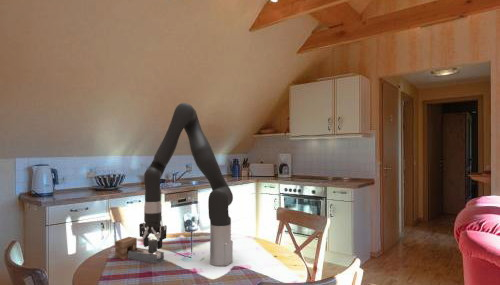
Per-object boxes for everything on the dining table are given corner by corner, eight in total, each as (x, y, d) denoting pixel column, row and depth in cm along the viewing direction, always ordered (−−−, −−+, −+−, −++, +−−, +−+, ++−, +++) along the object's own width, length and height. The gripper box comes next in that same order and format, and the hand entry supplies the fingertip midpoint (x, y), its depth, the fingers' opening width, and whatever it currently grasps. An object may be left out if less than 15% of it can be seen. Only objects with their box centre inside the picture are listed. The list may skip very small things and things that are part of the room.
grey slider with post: (161, 258, 147) (161, 240, 147) (157, 260, 144) (157, 242, 144) (139, 254, 152) (139, 237, 152) (135, 256, 150) (135, 238, 150)
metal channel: (163, 259, 148) (163, 252, 148) (155, 263, 143) (155, 255, 143) (136, 254, 155) (136, 247, 155) (127, 258, 150) (128, 250, 150)
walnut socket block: (136, 253, 157) (136, 237, 157) (123, 259, 149) (123, 242, 149) (128, 252, 159) (128, 236, 159) (115, 257, 151) (115, 241, 151)
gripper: (170, 210, 148) (170, 247, 148) (146, 208, 154) (146, 243, 154) (160, 214, 141) (159, 252, 141) (134, 211, 147) (134, 247, 147)
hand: (152, 247), depth 147 cm, fingers open, 7 cm apart
